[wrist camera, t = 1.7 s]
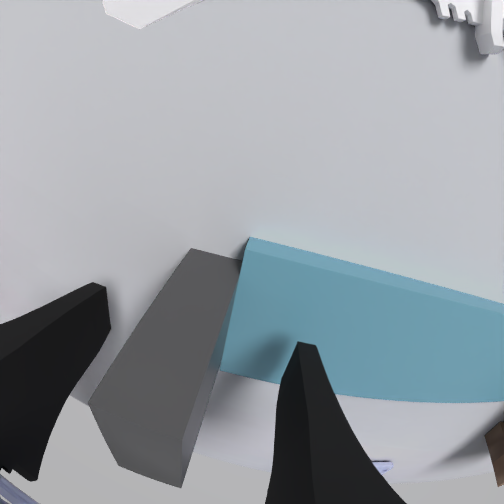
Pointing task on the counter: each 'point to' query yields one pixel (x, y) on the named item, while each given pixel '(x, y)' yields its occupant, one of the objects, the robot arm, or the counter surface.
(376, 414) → the counter surface
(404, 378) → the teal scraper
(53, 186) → the counter surface
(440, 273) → the counter surface
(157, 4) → the knife
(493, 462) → the low wooden stool
